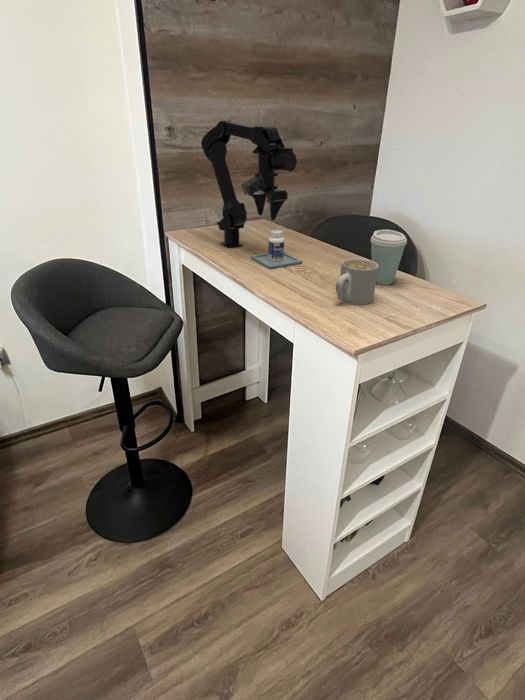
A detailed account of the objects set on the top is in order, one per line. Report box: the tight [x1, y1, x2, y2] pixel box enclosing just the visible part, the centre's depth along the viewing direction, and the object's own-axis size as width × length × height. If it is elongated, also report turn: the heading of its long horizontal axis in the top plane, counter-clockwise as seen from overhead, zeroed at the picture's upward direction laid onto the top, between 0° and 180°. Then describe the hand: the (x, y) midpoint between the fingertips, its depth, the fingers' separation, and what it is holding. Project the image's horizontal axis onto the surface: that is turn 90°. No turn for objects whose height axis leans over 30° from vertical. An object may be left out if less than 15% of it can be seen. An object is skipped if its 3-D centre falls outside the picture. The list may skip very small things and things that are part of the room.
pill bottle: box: [267, 229, 285, 261], centre depth 145 cm, size 5×5×10 cm
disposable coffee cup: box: [369, 229, 408, 286], centre depth 129 cm, size 11×11×15 cm
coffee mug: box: [335, 258, 379, 306], centre depth 117 cm, size 13×10×10 cm
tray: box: [250, 251, 303, 270], centre depth 147 cm, size 13×13×1 cm
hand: (266, 217), depth 147 cm, fingers open, 9 cm apart
